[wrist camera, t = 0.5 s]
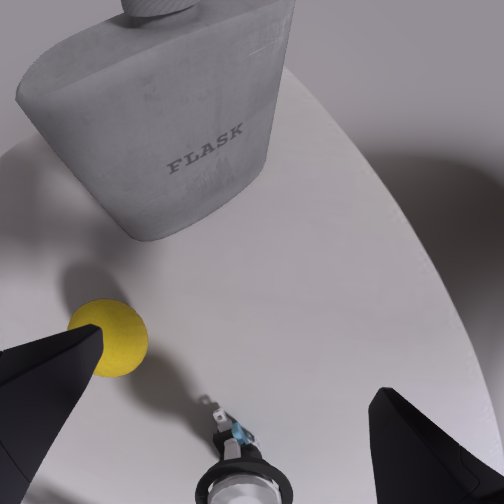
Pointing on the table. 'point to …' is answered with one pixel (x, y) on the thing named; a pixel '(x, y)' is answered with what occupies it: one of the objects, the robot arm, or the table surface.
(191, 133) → the flask
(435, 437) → the robot arm
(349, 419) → the table surface
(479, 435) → the table surface
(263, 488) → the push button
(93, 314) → the lemon
